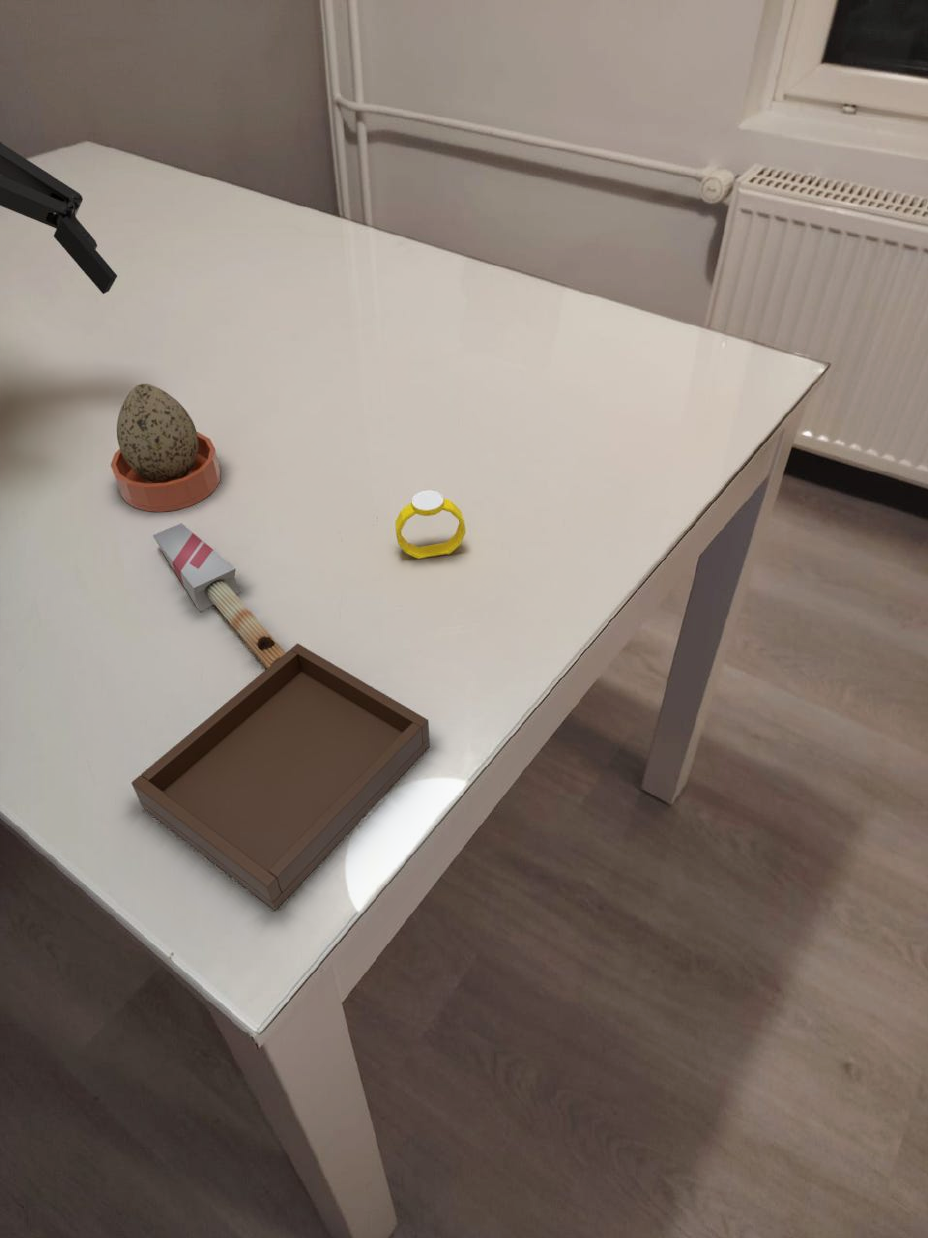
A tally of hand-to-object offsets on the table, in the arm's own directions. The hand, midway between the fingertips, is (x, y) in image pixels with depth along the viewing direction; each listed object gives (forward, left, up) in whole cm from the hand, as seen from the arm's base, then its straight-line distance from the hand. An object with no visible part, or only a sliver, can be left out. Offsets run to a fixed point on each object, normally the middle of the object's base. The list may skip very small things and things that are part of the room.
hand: (54, 313), depth 78 cm
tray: (+21, -42, -15) cm, 49 cm away
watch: (+33, -18, -15) cm, 41 cm away
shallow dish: (+8, -5, -15) cm, 18 cm away
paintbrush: (+15, -23, -15) cm, 32 cm away
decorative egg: (+8, -5, -15) cm, 17 cm away
